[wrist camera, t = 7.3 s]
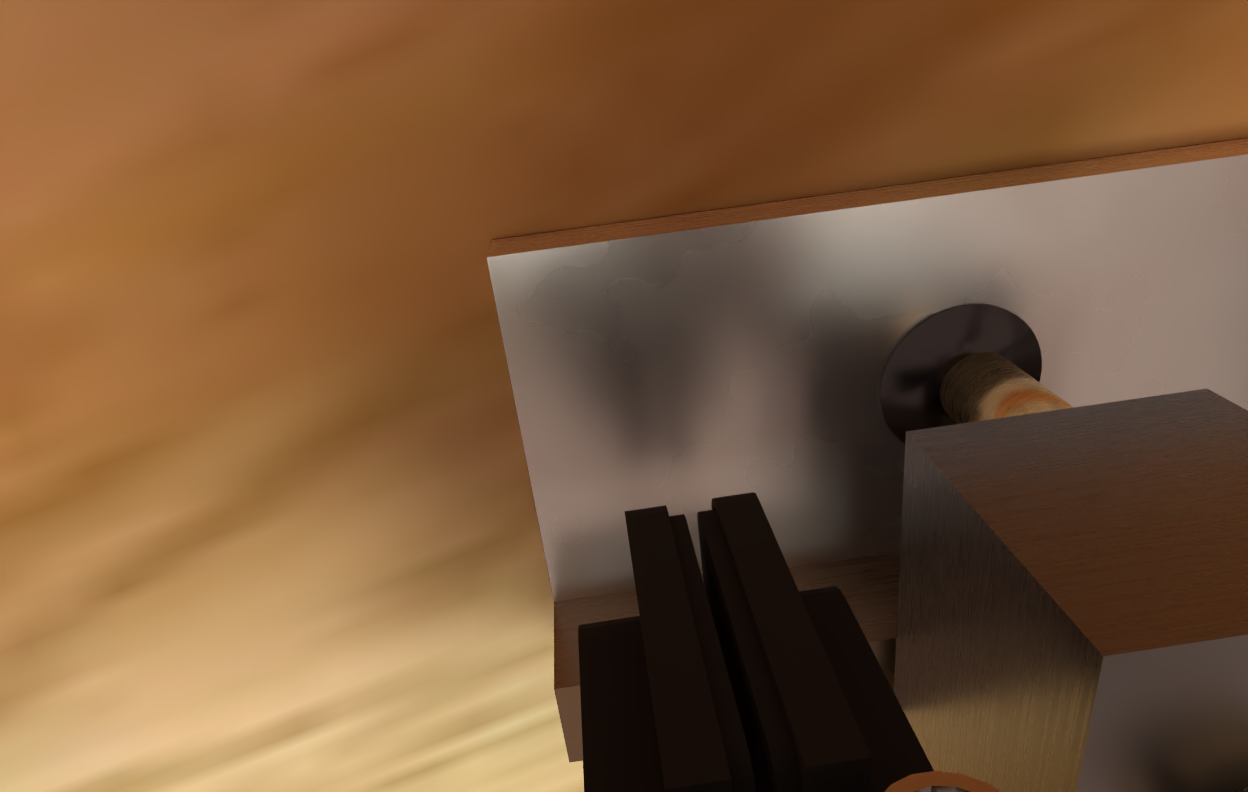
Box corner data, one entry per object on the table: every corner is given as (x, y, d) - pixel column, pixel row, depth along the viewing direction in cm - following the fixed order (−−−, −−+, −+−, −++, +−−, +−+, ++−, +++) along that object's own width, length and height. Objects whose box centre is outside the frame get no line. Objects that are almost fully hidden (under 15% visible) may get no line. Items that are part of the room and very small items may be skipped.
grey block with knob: (1108, 334, 12) (1729, 675, 6) (1062, 617, 14) (1461, 1077, 8) (852, 370, 12) (1193, 758, 6) (848, 649, 14) (1083, 1140, 8)
